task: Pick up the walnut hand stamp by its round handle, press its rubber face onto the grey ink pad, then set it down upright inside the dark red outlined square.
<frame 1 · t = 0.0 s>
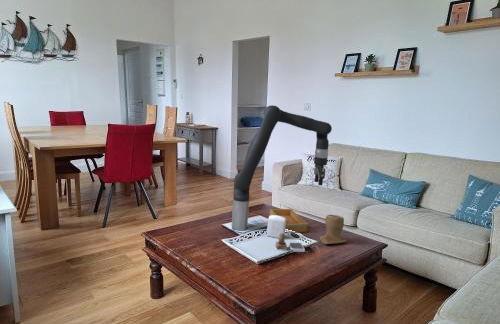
hand: (318, 183, 204), 29 cm above the table, tool pointing down, fingers open, 8 cm apart
photo printer: (275, 237, 195), on the table
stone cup: (331, 241, 193), on the table
hand stamp: (281, 248, 179), on the table
ink pad: (296, 248, 180), on the table
tray: (287, 224, 218), on the table
marked square: (311, 249, 181), on the table
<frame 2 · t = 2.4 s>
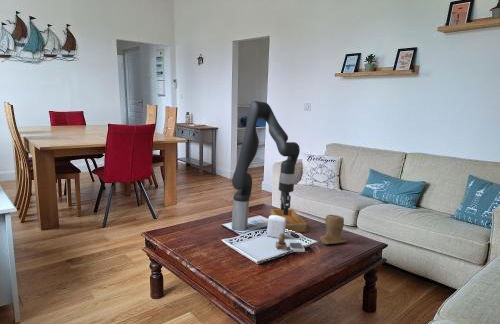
hand: (284, 212, 176), 19 cm above the table, tool pointing down, fingers open, 8 cm apart
nothing on the table moved.
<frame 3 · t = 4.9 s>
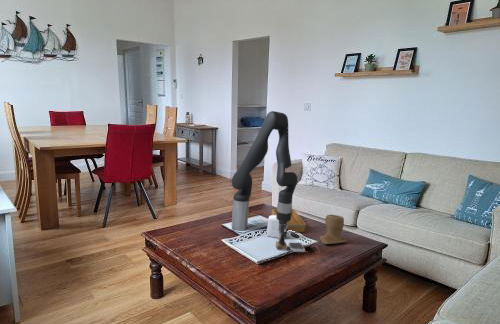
hand: (281, 242, 179), 3 cm above the table, tool pointing down, fingers closed on hand stamp, 3 cm apart
hand stamp: (281, 248, 179), on the table, touching gripper
everything else where it was.
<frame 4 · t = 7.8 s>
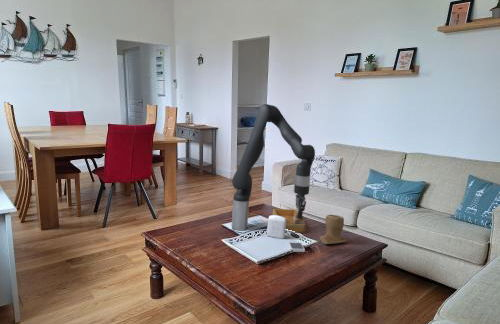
hand: (299, 216, 177), 17 cm above the table, tool pointing down, fingers closed on hand stamp, 3 cm apart
hand stamp: (298, 222, 178), point 14 cm above the table, touching gripper
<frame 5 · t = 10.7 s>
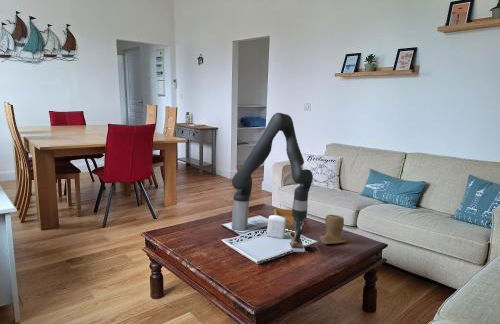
hand: (297, 239, 179), 5 cm above the table, tool pointing down, fingers closed on hand stamp, 3 cm apart
hand stamp: (296, 245, 180), point 2 cm above the table, touching gripper, ink pad
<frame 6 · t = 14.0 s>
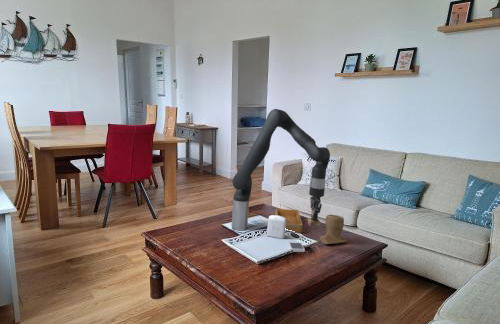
hand: (314, 218, 178), 17 cm above the table, tool pointing down, fingers closed on hand stamp, 3 cm apart
hand stamp: (313, 224, 179), point 13 cm above the table, touching gripper
when the fingers open (4 cm above the table, at t = 16.8 s): hand stamp stays where it is, on the table.
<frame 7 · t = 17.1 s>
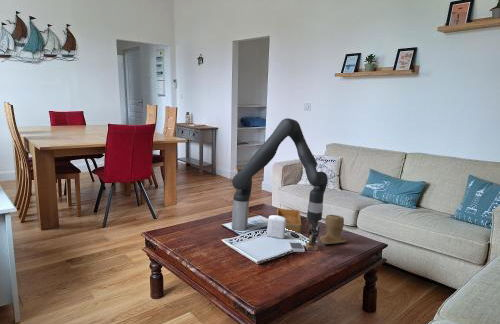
hand: (311, 240, 180), 5 cm above the table, tool pointing down, fingers open, 6 cm apart
hand stamp: (311, 249, 181), on the table
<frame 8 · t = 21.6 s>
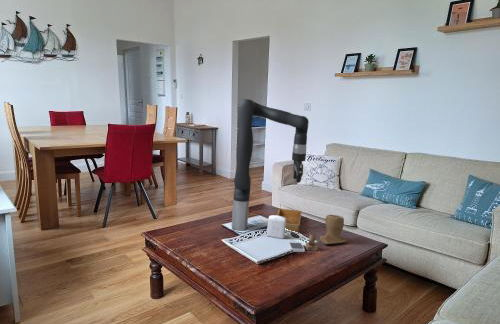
hand: (296, 180, 194), 32 cm above the table, tool pointing down, fingers open, 8 cm apart
at the end: hand stamp 0.1 cm from the target spot, on the table; hand stamp tilted 0°; the gripper is holding nothing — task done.
